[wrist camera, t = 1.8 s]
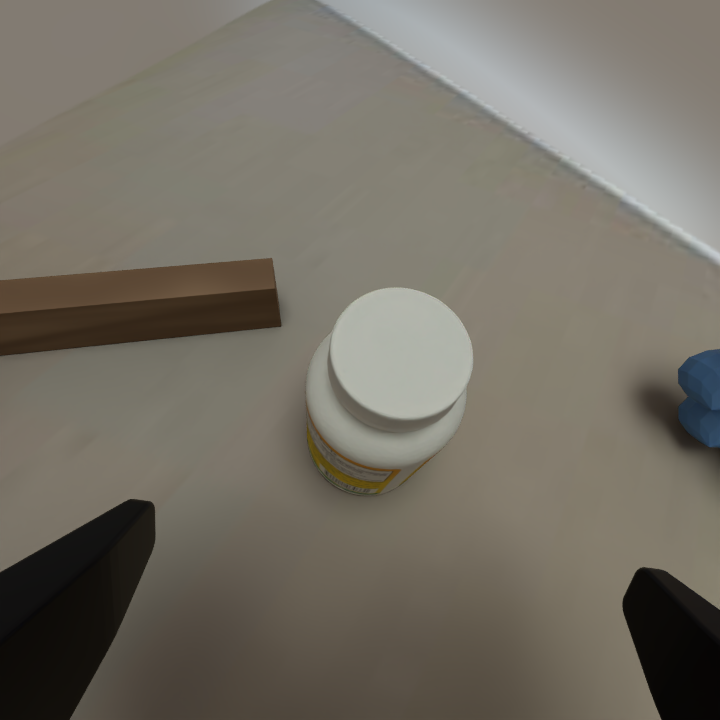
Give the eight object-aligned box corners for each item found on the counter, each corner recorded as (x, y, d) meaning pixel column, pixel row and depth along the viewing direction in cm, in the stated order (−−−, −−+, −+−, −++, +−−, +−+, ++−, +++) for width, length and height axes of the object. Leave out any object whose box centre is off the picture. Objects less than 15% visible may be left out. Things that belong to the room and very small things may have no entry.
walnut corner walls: (319, 672, 17) (319, 697, 14) (-196, 783, 15) (-337, 844, 12) (278, 299, 24) (272, 258, 20) (-86, 333, 21) (-158, 293, 18)
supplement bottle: (326, 513, 20) (334, 475, 11) (294, 400, 21) (278, 289, 13) (440, 475, 21) (531, 412, 12) (399, 370, 23) (452, 250, 14)
